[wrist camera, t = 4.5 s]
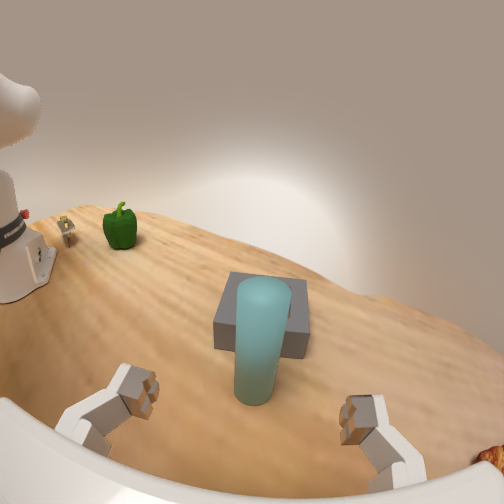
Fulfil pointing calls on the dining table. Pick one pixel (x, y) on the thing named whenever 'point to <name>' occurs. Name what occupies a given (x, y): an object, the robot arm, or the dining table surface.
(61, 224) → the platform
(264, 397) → the peg
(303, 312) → the socket block
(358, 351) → the dining table surface
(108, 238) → the bell pepper
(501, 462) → the croissant
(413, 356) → the dining table surface
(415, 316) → the dining table surface
